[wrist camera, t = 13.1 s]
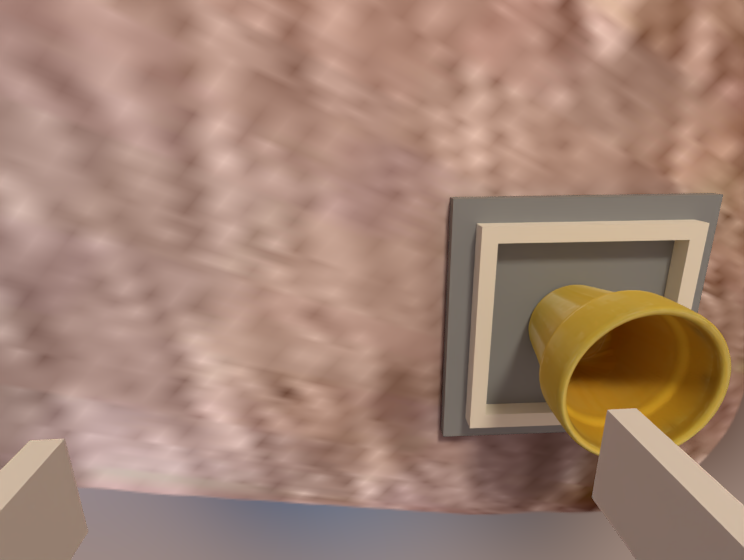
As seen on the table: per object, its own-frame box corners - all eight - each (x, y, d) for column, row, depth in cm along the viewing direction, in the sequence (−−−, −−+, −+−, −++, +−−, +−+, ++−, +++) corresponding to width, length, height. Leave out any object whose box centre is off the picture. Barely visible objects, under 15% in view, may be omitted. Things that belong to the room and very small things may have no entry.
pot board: (440, 429, 39) (446, 448, 37) (450, 197, 33) (458, 201, 31) (664, 421, 40) (684, 439, 38) (712, 193, 34) (739, 197, 32)
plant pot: (621, 382, 38) (711, 462, 28) (498, 383, 37) (548, 465, 28) (645, 261, 35) (754, 306, 25) (512, 261, 34) (573, 306, 25)
